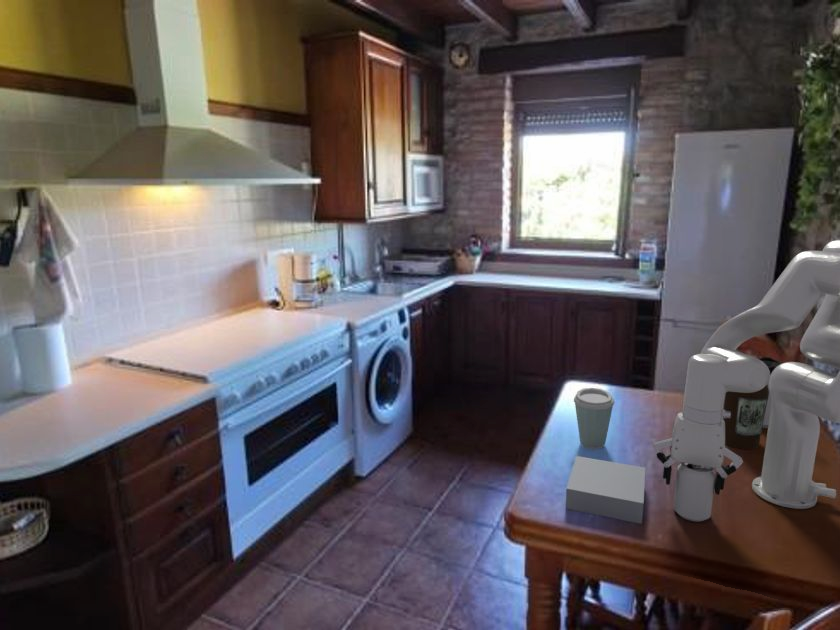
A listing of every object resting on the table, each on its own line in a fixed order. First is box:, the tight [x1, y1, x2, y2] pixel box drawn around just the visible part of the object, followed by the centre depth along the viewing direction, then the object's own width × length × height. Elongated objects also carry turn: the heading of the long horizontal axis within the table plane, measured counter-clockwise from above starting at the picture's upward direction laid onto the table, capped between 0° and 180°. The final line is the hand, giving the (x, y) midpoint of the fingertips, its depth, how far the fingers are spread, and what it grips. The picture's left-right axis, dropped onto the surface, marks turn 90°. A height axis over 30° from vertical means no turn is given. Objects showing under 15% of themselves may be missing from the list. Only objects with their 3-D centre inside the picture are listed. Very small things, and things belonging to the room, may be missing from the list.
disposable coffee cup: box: [573, 387, 615, 450], centre depth 152 cm, size 11×11×15 cm
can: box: [672, 462, 716, 523], centre depth 120 cm, size 8×8×12 cm
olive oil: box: [722, 354, 769, 450], centre depth 151 cm, size 11×11×25 cm
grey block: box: [565, 455, 646, 525], centre depth 128 cm, size 16×16×5 cm
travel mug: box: [758, 356, 781, 429], centre depth 162 cm, size 6×7×20 cm
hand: (691, 486), depth 120 cm, fingers open, 9 cm apart
